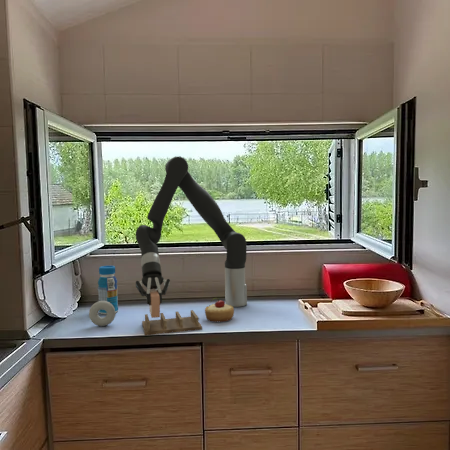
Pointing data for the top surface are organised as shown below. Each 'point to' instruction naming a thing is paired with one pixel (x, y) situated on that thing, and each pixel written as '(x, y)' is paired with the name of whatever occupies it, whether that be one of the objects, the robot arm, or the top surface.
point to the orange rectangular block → (154, 304)
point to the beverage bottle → (108, 287)
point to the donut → (102, 320)
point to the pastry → (219, 312)
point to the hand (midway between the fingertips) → (154, 303)
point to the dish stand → (171, 324)
